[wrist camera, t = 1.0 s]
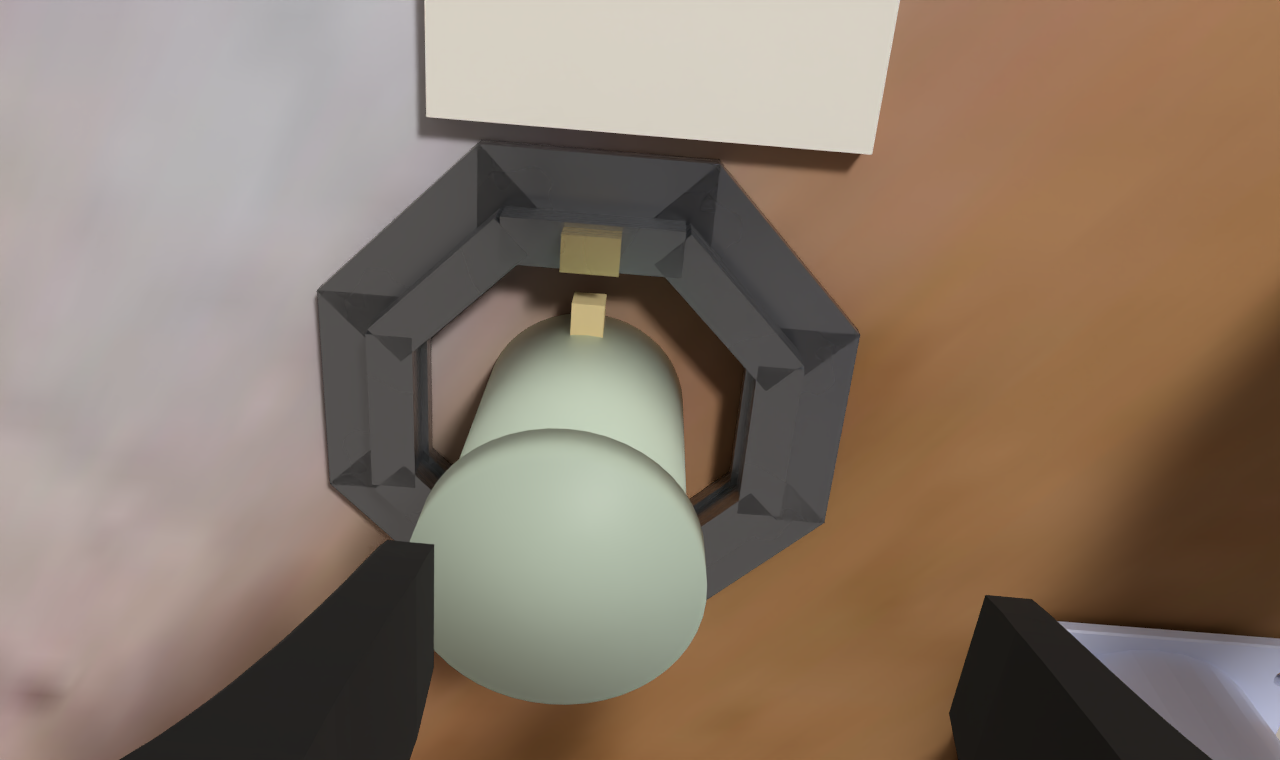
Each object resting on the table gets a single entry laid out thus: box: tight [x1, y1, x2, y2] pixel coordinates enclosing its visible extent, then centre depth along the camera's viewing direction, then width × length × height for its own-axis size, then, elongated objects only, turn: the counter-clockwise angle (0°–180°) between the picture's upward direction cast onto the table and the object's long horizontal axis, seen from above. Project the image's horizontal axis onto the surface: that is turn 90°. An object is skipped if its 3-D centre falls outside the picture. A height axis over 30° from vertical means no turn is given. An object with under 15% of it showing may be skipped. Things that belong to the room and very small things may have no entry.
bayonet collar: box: [317, 140, 860, 600], centre depth 22 cm, size 12×12×2 cm
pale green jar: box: [410, 292, 707, 705], centre depth 20 cm, size 6×5×7 cm
